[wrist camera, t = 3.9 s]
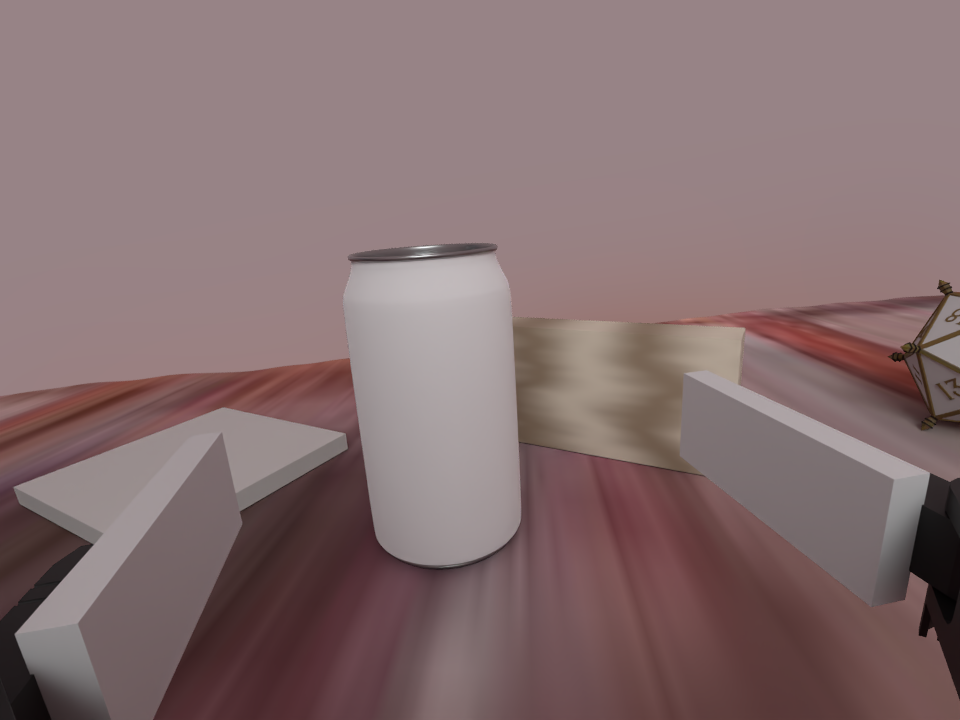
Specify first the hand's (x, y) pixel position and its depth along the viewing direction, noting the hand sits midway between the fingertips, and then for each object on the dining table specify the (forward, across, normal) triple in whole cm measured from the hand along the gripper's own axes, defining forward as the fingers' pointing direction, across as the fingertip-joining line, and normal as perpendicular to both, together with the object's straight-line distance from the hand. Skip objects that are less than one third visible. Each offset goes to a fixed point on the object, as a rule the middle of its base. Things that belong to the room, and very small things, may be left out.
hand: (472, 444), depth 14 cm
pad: (+16, -14, -7) cm, 22 cm away
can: (+7, 0, -7) cm, 10 cm away
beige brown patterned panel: (+14, +6, -7) cm, 17 cm away
